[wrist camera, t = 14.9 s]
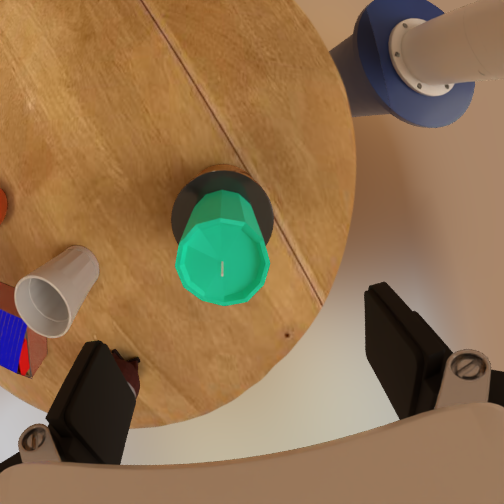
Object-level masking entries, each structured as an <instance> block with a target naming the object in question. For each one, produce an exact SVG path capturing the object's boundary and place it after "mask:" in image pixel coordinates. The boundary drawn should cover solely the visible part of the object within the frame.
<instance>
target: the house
mask: <svg viewBox="0 0 504 504" xmlns="http://www.w3.org/2000/svg"><path fill="white" fill-rule="evenodd" d="M14 292H15V288H13V287H11V286H8V285H6V284H4V283H1V282H0V365H1V366H3V367H5V368H7V369H9V370H11V371H13V372H15V373H17V374H20V375H23V376H26V377H28V378H30V377H33V376H34V374H35V372H36V371H37V369H38V368H39V366H40V365H41V363H42V361H43V360H44V358H45V357H46V355H47V337H44V336H42V335H39V334H38V333H36V332H34V331H33V330H32V329H31V328H29V327H28V326H27V325H26V323H25V322H24V321H23V320H22V318H21V316H20V315H19V313H18V311H17V308H16V305H15V300H14ZM31 379H32V378H31Z"/></svg>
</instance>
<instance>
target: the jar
mask: <svg viewBox="0 0 504 504" xmlns="http://www.w3.org/2000/svg"><path fill="white" fill-rule="evenodd" d="M219 190H226V191H231V192H235V193H239V194H240V195H241V196H242V197H243V198H244V199H245V200H246V201H247V202H248V203H250V204H251V206H252V209H253V212H254V215H255V217H256V220H257V223H258V225H259V228H260V231H261V234H262V236H263V239H264V242H265V246H266V245H267V243H268V241H269V239H270V237H271V234H272V230H273V224H274V215H273V209H272V205H271V202H270V200H269V198H268V196H267V194H266V193H265V191H264V190H263V189H262V187H261V186H260V185H259V184H258V183H257V182H256V181H255V180H254V179H252V177H251V176H250V175H249V174H248V173H247V172H245V171H244V170H243V169H241V168H239V167H236V166H233V165H228V164H218V165H213V166H210V167H208V168H206V169H204V170H203V171H201V172H200V173H199V174H198V175H197V176H196V177H195V178H193V179H192V180H191V181H189V182H188V183H187V184H186V185H185V186H184V188H183V189H182V190H181V192H180V193H179V194H178V196H177V198H176V200H175V203H174V206H173V209H172V216H171V223H172V230H173V234H174V237H175V239H176V241H177V243H178V245H179V242H180V240H181V237H182V235H183V233H184V230H185V228H186V225H187V223H188V221H189V218H190V216H191V213H192V211H193V209H194V207H195V206H196V204H197V203H198V202H199V201H200V200H201V199H202V198H203V197H204V196H205V195H206V194H209V193H212V192H216V191H219Z"/></svg>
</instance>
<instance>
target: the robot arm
mask: <svg viewBox="0 0 504 504" xmlns="http://www.w3.org/2000/svg"><path fill="white" fill-rule="evenodd" d="M388 45H389V54H390V59H391V61H392V64H393V66H394V68H395V70H396V72H397V74H398V75H399V76H400V78H401V79H402V80H403V81H404V82H405V83H406V85H407V86H409V87H410V88H411V89H413V90H414V91H416V92H418V93H419V94H422V95H425V96H440V95H444V94H445V93H447V92H449V91H450V90H451V89H452V87H453V86H454V84H455V83H463V82H472V81H483V80H496V79H504V0H479V1H477V2H474V3H471V4H469V5H466V6H463V7H460V8H458V9H455V10H453V11H450V12H448V13H445V14H443V15H440V16H438V17H436V18H433V19H431V20H429V21H425V20H422V19H417V18H410V19H406V20H404V21H401V22H400V23H398V24H397V25H396V26H395V27H394V28H393V30H392V31H391V34H390V36H389V42H388ZM364 301H365V336H366V337H365V344H366V345H365V350H366V356H367V359H368V361H369V363H370V365H371V367H372V368H373V370H374V372H375V374H376V376H377V378H378V379H379V381H380V383H381V385H382V387H383V389H384V391H385V393H386V394H387V396H388V398H389V400H390V402H391V404H392V406H393V408H394V409H395V412H396V413H397V415H398V417H399V419H400V420H398V421H396V422H393V423H390V424H387V425H384V426H380V427H377V428H374V429H371V430H368V431H364V432H361V433H357V434H354V435H350V436H347V437H343V438H339V439H336V440H332V441H328V442H324V443H320V444H316V445H311V446H307V447H303V448H298V449H293V450H288V451H283V452H278V453H272V454H266V455H260V456H254V457H247V458H241V459H232V460H224V461H215V462H204V463H191V464H174V465H120V463H121V459H122V455H123V451H124V447H125V442H126V438H127V434H128V431H129V427H130V423H131V419H132V415H133V412H134V408H135V404H136V398H135V395H134V393H133V391H132V389H131V388H130V386H129V384H128V383H127V381H126V379H125V377H124V376H123V374H122V372H121V370H120V368H119V367H118V365H117V363H116V361H115V359H114V357H113V356H112V354H111V352H110V350H109V348H108V346H107V345H106V344H103V342H101V341H99V340H98V341H91V342H86V343H85V344H84V346H83V348H82V350H81V351H80V353H79V355H78V357H77V359H76V360H75V362H74V364H73V366H72V368H71V369H70V371H69V373H68V375H67V377H66V379H65V381H64V383H63V384H62V386H61V388H60V390H59V392H58V394H57V396H56V398H55V400H54V402H53V404H52V406H51V408H50V410H49V412H48V414H47V416H46V419H47V421H48V422H49V425H48V427H47V426H46V425H44V424H34V425H32V426H30V427H28V428H27V429H26V430H25V431H24V432H23V433H22V434H21V436H20V438H19V441H18V447H19V451H20V452H18V453H16V454H15V455H13V456H12V457H10V458H8V459H7V460H5V461H4V462H2V463H0V504H504V372H502V371H496V370H491V363H490V361H489V360H488V358H487V357H486V356H485V355H484V354H483V353H481V352H479V351H476V350H472V349H464V350H460V351H457V352H455V353H453V352H452V351H451V350H450V349H449V348H448V346H447V345H446V344H445V343H444V342H443V341H442V340H441V338H440V337H439V336H438V335H437V334H436V333H435V332H434V330H433V329H432V328H431V327H430V326H429V325H428V324H427V323H426V322H425V320H424V319H423V318H422V317H421V316H420V315H419V314H418V313H417V312H416V311H412V310H411V309H410V308H409V307H408V306H407V305H406V304H405V302H404V301H403V300H402V299H401V298H400V297H399V296H398V295H397V294H396V293H395V292H394V290H393V289H392V288H391V287H390V286H389V285H388V284H387V283H386V282H381V283H378V284H374V285H370V286H369V289H368V291H365V293H364Z"/></svg>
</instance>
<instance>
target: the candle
mask: <svg viewBox="0 0 504 504" xmlns="http://www.w3.org/2000/svg"><path fill="white" fill-rule="evenodd" d="M269 267H270V260H269V257H268V253H267V249H266V246H265V242H264V239H263V236H262V234H261V231H260V228H259V225H258V223H257V220H256V217H255V215H254V212H253V209H252V206H251V204H250V203H248V202H247V201H246V200H245V199H244V198H243V197H242V196H241V195H240V194H239V193H235V192H231V191H226V190H219V191H216V192H212V193H209V194H206V195H205V196H204V197H203V198H202V199H201V200H200V201H199V202H198V203H197V204H196V206H195V207H194V209H193V211H192V213H191V216H190V218H189V221H188V223H187V225H186V228H185V230H184V233H183V235H182V237H181V240H180V242H179V246H178V252H177V257H176V263H175V268H176V270H177V272H178V275H179V277H180V280H181V282H182V285H183V287H184V288H185V289H187V290H188V291H189V292H191V293H192V294H193V295H195V296H196V297H198V298H199V299H200V300H202V301H206V302H210V303H214V304H218V305H222V306H228V305H233V304H239V303H244V302H248V301H249V300H250V299H251V298H252V297H253V295H254V294H255V293H256V292H257V291H258V290H259V289H260V288H261V287H262V286H263V285H264V283H265V280H266V276H267V273H268V270H269Z"/></svg>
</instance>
